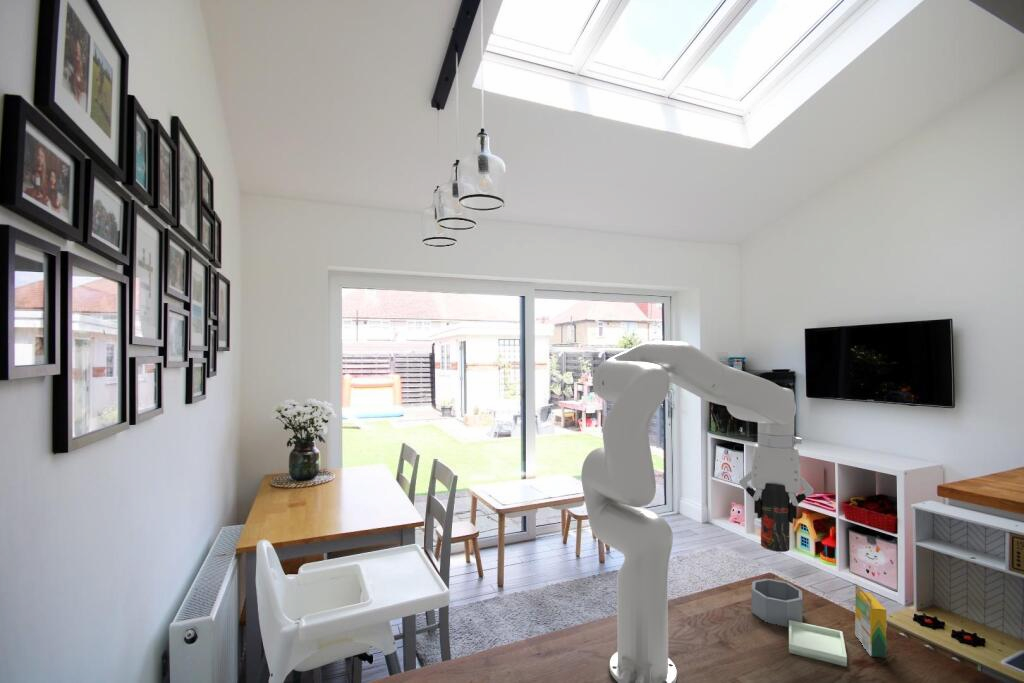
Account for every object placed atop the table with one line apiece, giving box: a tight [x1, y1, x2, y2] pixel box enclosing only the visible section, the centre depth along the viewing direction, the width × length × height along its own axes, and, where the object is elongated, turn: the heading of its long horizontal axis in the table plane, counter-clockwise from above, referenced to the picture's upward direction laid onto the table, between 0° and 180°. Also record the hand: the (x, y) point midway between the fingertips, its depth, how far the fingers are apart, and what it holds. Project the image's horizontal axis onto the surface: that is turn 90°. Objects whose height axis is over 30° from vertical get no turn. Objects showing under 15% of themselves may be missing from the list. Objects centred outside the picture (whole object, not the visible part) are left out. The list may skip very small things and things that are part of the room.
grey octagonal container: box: [751, 578, 804, 628], centre depth 122 cm, size 10×10×6 cm
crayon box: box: [854, 582, 887, 658], centre depth 109 cm, size 7×3×12 cm, turn 168°
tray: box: [788, 620, 848, 667], centre depth 109 cm, size 10×10×2 cm
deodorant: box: [760, 483, 791, 553], centre depth 121 cm, size 6×6×15 cm
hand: (775, 518), depth 121 cm, fingers closed on deodorant, 6 cm apart
